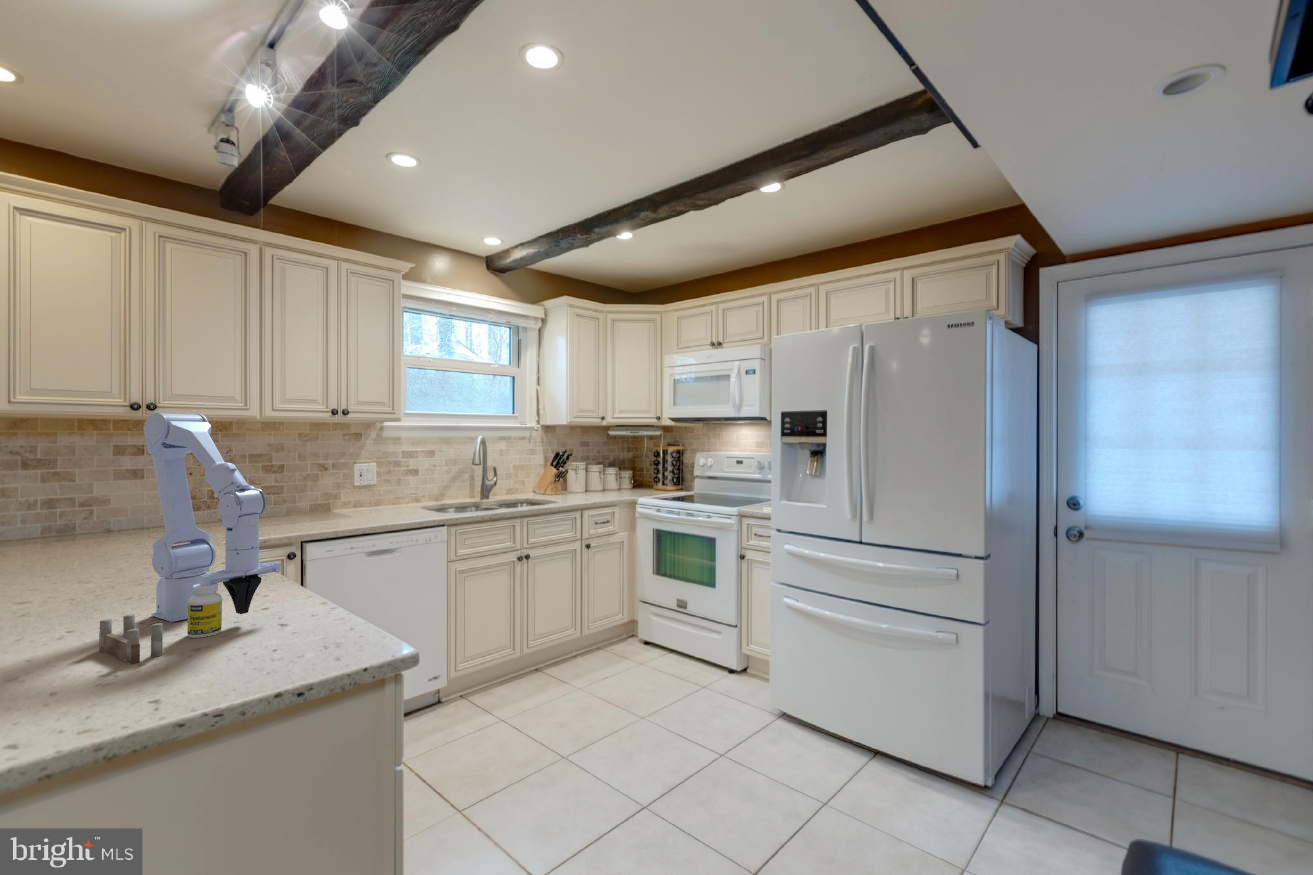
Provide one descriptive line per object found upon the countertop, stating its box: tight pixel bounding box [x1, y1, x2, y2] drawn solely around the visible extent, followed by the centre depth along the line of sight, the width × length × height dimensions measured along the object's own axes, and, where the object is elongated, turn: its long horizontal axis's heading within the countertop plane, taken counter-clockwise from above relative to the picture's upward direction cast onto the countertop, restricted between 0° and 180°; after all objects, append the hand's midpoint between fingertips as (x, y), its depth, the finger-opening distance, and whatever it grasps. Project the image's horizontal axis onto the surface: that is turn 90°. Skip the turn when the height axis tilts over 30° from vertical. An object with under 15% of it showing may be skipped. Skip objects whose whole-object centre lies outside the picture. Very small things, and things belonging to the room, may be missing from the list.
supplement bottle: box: [187, 583, 223, 639], centre depth 117 cm, size 5×5×10 cm
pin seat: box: [98, 613, 164, 665], centre depth 107 cm, size 13×5×6 cm, turn 62°
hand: (242, 612), depth 123 cm, fingers closed
